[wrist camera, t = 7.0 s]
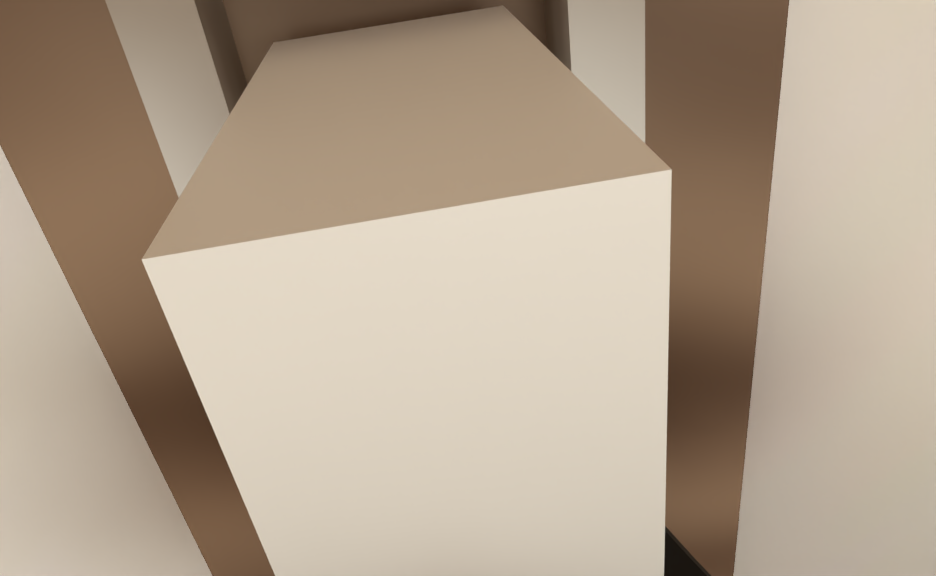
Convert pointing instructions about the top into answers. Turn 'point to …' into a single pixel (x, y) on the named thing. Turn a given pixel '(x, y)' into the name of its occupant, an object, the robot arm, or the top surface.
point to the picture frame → (359, 6)
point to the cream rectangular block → (430, 307)
